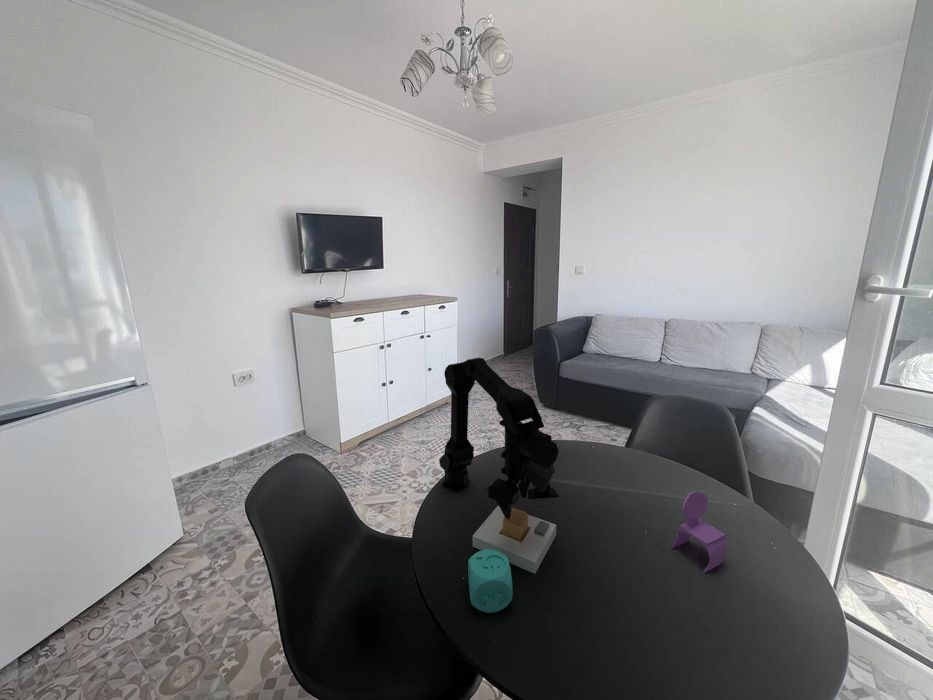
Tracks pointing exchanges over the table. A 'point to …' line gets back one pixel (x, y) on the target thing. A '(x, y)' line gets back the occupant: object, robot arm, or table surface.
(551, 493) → the black angular piece
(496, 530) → the socket plate
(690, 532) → the toy chair
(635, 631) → the table surface
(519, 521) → the brown block
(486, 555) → the decorative dice
